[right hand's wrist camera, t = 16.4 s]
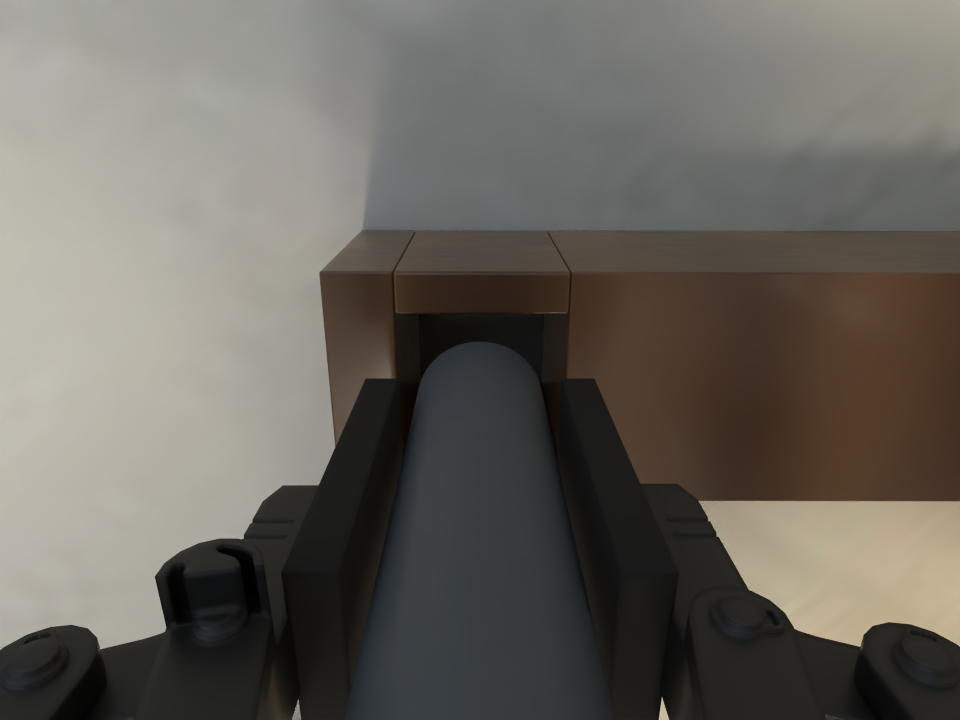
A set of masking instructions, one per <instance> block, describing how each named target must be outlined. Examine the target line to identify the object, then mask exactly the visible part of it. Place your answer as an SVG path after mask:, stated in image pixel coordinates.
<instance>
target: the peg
mask: <svg viewBox="0 0 960 720" xmlns="http://www.w3.org/2000/svg"><path fill="white" fill-rule="evenodd" d="M344 720H615V717H614V713H613V708H612V704H611V699H610V695H609V690H608V686H607V681H606V677H605V672H604V668H603V664H602V659H601V655H600V650H599V646H598V641H597V637H596V632H595V628H594V623H593V619H592V614H591V610H590V605H589V601H588V596H587V592H586V587H585V583H584V578H583V574H582V570H581V565H580V561H579V556H578V552H577V547H576V543H575V538H574V534H573V529H572V525H571V520H570V516H569V511H568V507H567V502H566V498H565V493H564V489H563V484H562V480H561V476H560V471H559V467H558V462H557V458H556V453H555V449H554V444H553V440H552V435H551V431H550V426H549V422H548V417H547V413H546V408H545V404H544V399H543V395H542V391H541V386H540V383H539V380H538V377H537V375H536V373H535V371H534V370H533V368H532V367H531V365H530V364H529V363H528V362H527V361H526V360H525V359H524V358H523V357H522V356H521V355H519V354H518V353H516V352H515V351H513V350H512V349H510V348H507V347H505V346H503V345H499V344H496V343H491V342H469V343H464V344H460V345H457V346H455V347H452V348H450V349H448V350H446V351H445V352H443V353H442V354H440V355H439V356H438V357H437V358H436V359H435V360H434V361H433V362H432V363H431V364H430V365H429V367H428V368H427V369H426V371H425V373H424V375H423V377H422V379H421V382H420V385H419V390H418V394H417V399H416V403H415V408H414V412H413V416H412V421H411V425H410V430H409V434H408V439H407V443H406V448H405V452H404V456H403V461H402V465H401V470H400V474H399V479H398V483H397V488H396V492H395V496H394V501H393V505H392V510H391V514H390V519H389V523H388V528H387V532H386V536H385V541H384V545H383V550H382V554H381V559H380V563H379V568H378V572H377V576H376V581H375V585H374V590H373V594H372V599H371V603H370V608H369V612H368V616H367V621H366V625H365V630H364V634H363V639H362V643H361V648H360V652H359V656H358V661H357V665H356V670H355V674H354V679H353V683H352V688H351V692H350V696H349V701H348V705H347V710H346V714H345V719H344Z"/></svg>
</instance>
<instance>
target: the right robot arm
mask: <svg viewBox="0 0 960 720" xmlns="http://www.w3.org/2000/svg"><path fill="white" fill-rule="evenodd" d="M402 461H403V453H402V433H401V413H400V393H399V378H365V381H364V383H363V385H362V388H361V390H360V392H359V395H358V397H357V399H356V401H355V404H354V406H353V408H352V411H351V413H350V415H349V417H348V420H347V422H346V424H345V427H344V429H343V431H342V434H341V436H340V438H339V440H338V443H337V445H336V447H335V450H334V452H333V454H332V456H331V459H330V461H329V463H328V466H327V468H326V470H325V473H324V475H323V477H322V479H321V482H320V484H319V486H282V487H281V488H279V489H278V490H277V491H275V492H274V493H273V494H272V495H270V496H269V497H268V498H267V499H265V500H264V501H263V502H262V504H261V506H260V508H259V509H258V511H257V513H256V515H255V516H254V518H253V522H252V523H251V524H250V525H249V527H248V529H247V531H246V532H245V534H244V539H242V540H241V539H216V540H211V541H207V542H202V543H199V544H196V545H194V546H192V547H190V548H187V549H185V550H183V551H181V552H179V553H178V554H176V555H175V556H174V557H172V558H171V559H170V560H168V561H167V562H166V563H164V565H163V566H162V568H161V569H160V570H159V572H158V573H157V575H156V576H155V579H156V584H157V588H158V592H159V597H160V601H161V605H162V610H163V614H164V619H165V623H166V627H167V628H166V631H165V632H164V633H162V634H159V635H156V636H152V637H149V638H146V639H142V640H138V641H134V642H130V643H126V644H121V645H117V646H113V647H109V648H105V649H100V647H99V643H98V640H97V637H96V636H95V635H94V634H93V633H92V632H91V631H90V630H89V629H87V628H83V627H78V626H74V625H67V626H57V627H49V628H46V629H43V630H40V631H37V632H34V633H31V634H28V635H26V636H24V637H22V638H20V639H18V640H17V641H15V642H13V643H11V644H9V645H7V646H5V647H4V648H3V649H1V650H0V720H292V717H293V714H294V711H295V707H296V704H297V701H298V698H299V706H300V713H301V720H344V719H345V714H346V710H347V705H348V701H349V696H350V692H351V688H352V683H353V679H354V674H355V670H356V665H357V661H358V656H359V652H360V648H361V643H362V639H363V634H364V630H365V625H366V621H367V616H368V612H369V608H370V603H371V599H372V594H373V590H374V585H375V581H376V576H377V572H378V568H379V563H380V559H381V554H382V550H383V545H384V541H385V536H386V532H387V528H388V523H389V519H390V514H391V510H392V505H393V501H394V496H395V492H396V488H397V483H398V479H399V474H400V470H401V465H402ZM557 462H558V467H559V471H560V476H561V480H562V484H563V489H564V493H565V498H566V502H567V507H568V511H569V516H570V520H571V525H572V529H573V534H574V538H575V543H576V547H577V552H578V556H579V561H580V565H581V570H582V574H583V578H584V583H585V587H586V592H587V596H588V601H589V605H590V610H591V614H592V619H593V623H594V628H595V632H596V637H597V641H598V646H599V650H600V655H601V659H602V664H603V668H604V672H605V677H606V681H607V686H608V690H609V695H610V699H611V704H612V708H613V713H614V717H615V720H659V713H660V706H661V699H662V698H663V701H664V704H665V707H666V711H667V714H668V717H669V720H960V647H959V646H958V645H957V644H955V643H953V642H951V641H949V640H947V639H946V638H944V637H942V636H940V635H938V634H936V633H934V632H932V631H929V630H926V629H923V628H920V627H916V626H913V625H910V624H900V623H890V622H889V623H884V624H880V625H875V626H872V627H871V628H870V629H869V630H868V631H867V632H866V633H865V634H864V636H863V640H862V643H861V647H858V646H854V645H850V644H845V643H841V642H837V641H833V640H829V639H824V638H820V637H816V636H813V635H810V634H806V633H803V632H800V631H798V630H796V629H794V627H793V625H792V624H791V622H790V621H789V619H788V617H787V616H786V614H785V613H784V612H783V611H782V610H781V609H780V608H778V607H777V606H776V605H775V604H774V603H772V602H771V601H770V600H768V599H766V598H764V597H762V596H760V595H758V594H756V593H754V592H752V591H749V590H748V588H747V586H746V584H745V583H744V581H743V579H742V577H741V576H740V574H739V572H738V570H737V569H736V567H735V565H734V563H733V561H732V560H731V558H730V556H729V554H728V553H727V551H726V549H725V547H724V546H723V544H722V542H721V540H720V539H719V537H717V536H716V531H715V530H714V528H713V526H712V524H711V523H710V521H708V517H707V516H706V514H705V512H704V510H703V509H702V507H701V505H700V503H699V501H698V500H697V499H696V498H695V497H694V496H692V495H691V494H690V493H689V492H687V491H686V490H685V489H683V488H682V487H681V486H680V485H678V484H640V482H639V479H638V477H637V475H636V472H635V470H634V468H633V466H632V463H631V461H630V459H629V456H628V454H627V452H626V450H625V447H624V445H623V443H622V440H621V438H620V436H619V433H618V431H617V429H616V427H615V424H614V422H613V420H612V417H611V415H610V413H609V411H608V408H607V406H606V404H605V401H604V399H603V397H602V394H601V392H600V390H599V388H598V385H597V383H596V381H595V378H561V394H560V413H559V433H558V453H557Z"/></svg>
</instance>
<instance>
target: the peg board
mask: <svg viewBox="0 0 960 720" xmlns="http://www.w3.org/2000/svg"><path fill="white" fill-rule="evenodd" d="M319 274H320V285H321V296H322V307H323V318H324V329H325V339H326V350H327V361H328V372H329V383H330V394H331V405H332V416H333V427H334V437H335V447H336V445H337V443H338V440H339V438H340V436H341V434H342V431H343V429H344V427H345V424H346V422H347V420H348V417H349V415H350V413H351V411H352V408H353V406H354V404H355V401H356V399H357V397H358V395H359V392H360V390H361V388H362V385H363V383H364V381H365V378H399V393H400V413H401V433H402V453H403V456H404V452H405V448H406V443H407V439H408V434H409V430H410V425H411V421H412V416H413V412H414V408H415V403H416V399H417V394H418V390H419V385H420V382H421V378H420V350H419V321H418V314H544V333H543V358H542V383H540V386H541V391H542V395H543V399H544V404H545V408H546V413H547V417H548V422H549V426H550V431H551V435H552V440H553V444H554V449H555V453H556V458H557V453H558V433H559V413H560V394H561V378H595V381H596V383H597V385H598V388H599V390H600V392H601V394H602V397H603V399H604V401H605V404H606V406H607V408H608V411H609V413H610V415H611V417H612V420H613V422H614V424H615V427H616V429H617V431H618V433H619V436H620V438H621V440H622V443H623V445H624V447H625V450H626V452H627V454H628V456H629V459H630V461H631V463H632V466H633V468H634V470H635V472H636V475H637V477H638V479H639V482H640V484H678V485H680V486H681V487H682V488H683V489H685V490H686V491H687V492H689V493H690V494H691V495H692V496H694V497H695V498H696V499H697V500H698V501H960V231H548V233H547V232H546V231H416V232H415V231H386V230H363V231H361V232H360V233H359V234H358V235H357V236H356V237H355V238H354V239H353V240H352V241H351V242H350V243H349V244H348V245H347V246H346V247H345V248H344V249H343V250H342V251H341V252H340V253H339V254H338V255H337V256H336V257H335V258H334V259H333V260H332V261H331V262H330V263H328V264H327V265H326V266H325V267H324V268H323V269H322V270H321V271H320V273H319Z"/></svg>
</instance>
